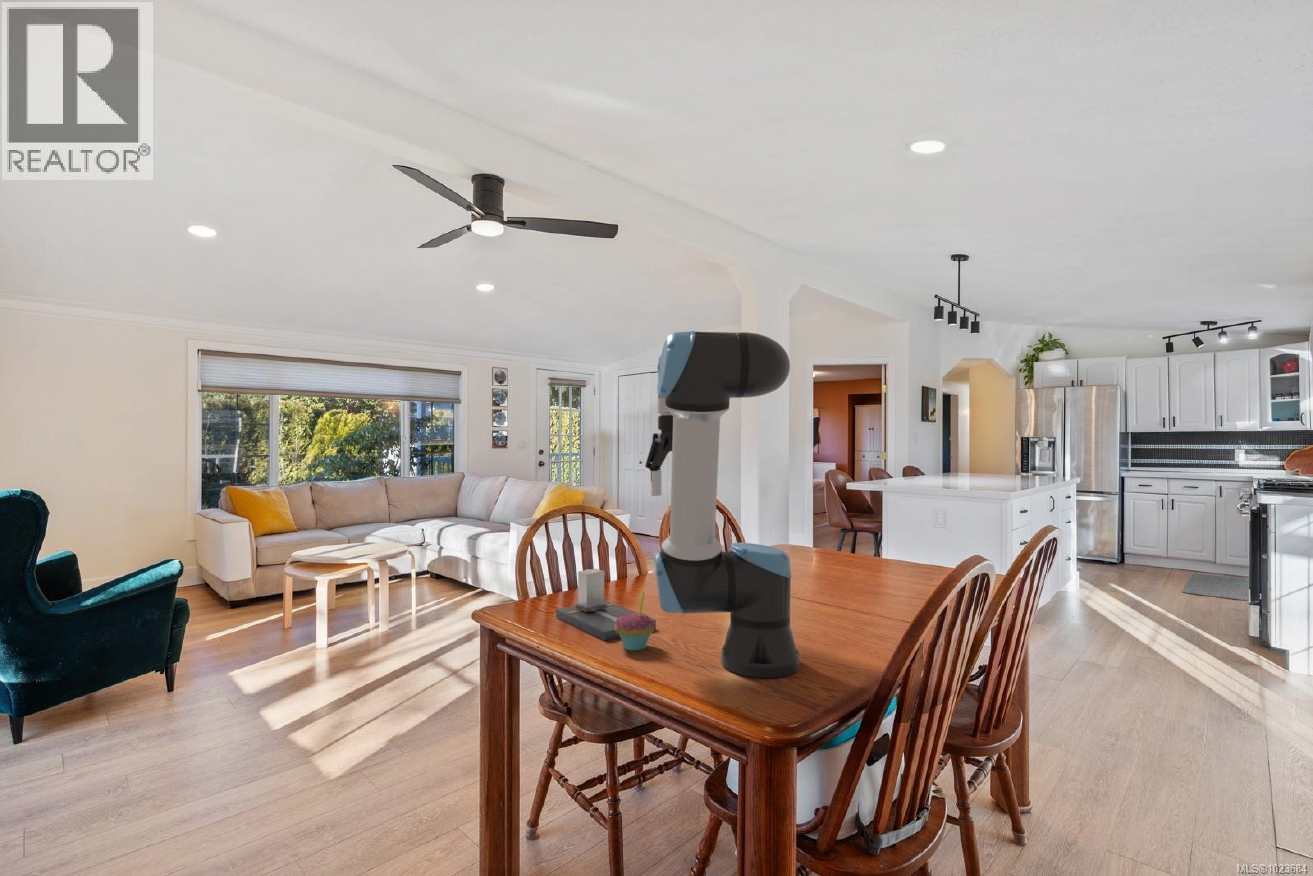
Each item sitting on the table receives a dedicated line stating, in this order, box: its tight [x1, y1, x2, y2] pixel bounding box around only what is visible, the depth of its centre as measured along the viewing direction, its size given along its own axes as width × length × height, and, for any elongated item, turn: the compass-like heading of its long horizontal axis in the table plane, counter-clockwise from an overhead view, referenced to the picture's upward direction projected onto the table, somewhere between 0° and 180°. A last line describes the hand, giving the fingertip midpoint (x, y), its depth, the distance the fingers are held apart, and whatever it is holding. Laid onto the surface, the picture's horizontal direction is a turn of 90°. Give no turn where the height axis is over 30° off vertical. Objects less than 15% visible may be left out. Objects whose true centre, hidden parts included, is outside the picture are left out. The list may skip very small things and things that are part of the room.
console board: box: [555, 599, 657, 642], centre depth 152 cm, size 22×14×2 cm, turn 37°
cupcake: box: [615, 591, 655, 651], centre depth 135 cm, size 9×8×12 cm
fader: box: [574, 568, 607, 612], centre depth 157 cm, size 5×6×9 cm
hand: (672, 498), depth 163 cm, fingers open, 13 cm apart
